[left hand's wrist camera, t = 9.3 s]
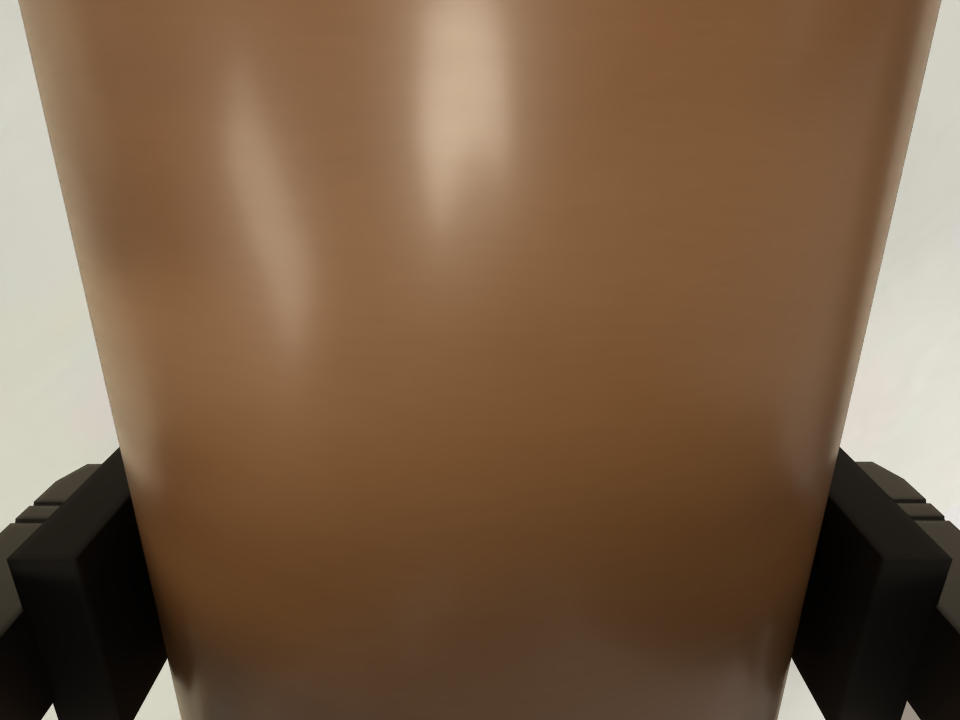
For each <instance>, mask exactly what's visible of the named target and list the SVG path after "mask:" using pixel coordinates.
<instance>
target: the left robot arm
mask: <svg viewBox="0 0 960 720" xmlns="http://www.w3.org/2000/svg"><path fill="white" fill-rule="evenodd" d="M167 658H168V657H167V653H166V648H165V644H164V640H163V635H162V631H161V626H160V622H159V618H158V613H157V609H156V604H155V600H154V596H153V591H152V587H151V582H150V578H149V574H148V569H147V565H146V560H145V556H144V552H143V547H142V543H141V538H140V534H139V530H138V525H137V521H136V516H135V512H134V508H133V503H132V499H131V494H130V490H129V486H128V481H127V477H126V472H125V468H124V464H123V459H122V455H121V450H120V447H119V448H118V449H117V450H116V451H115V452H114V453H113V454H112V455H111V456H110V457H109V458H108V459H107V460H106V461H105V462H104V463H103V464H87V465H85V466H83V467H81V468H80V469H78V470H76V471H74V472H72V473H71V474H69V475H67V476H65V477H63V478H61V479H60V480H58V481H56V482H55V483H54V484H53V485H52V486H51V487H49V488H48V489H47V490H46V491H45V492H44V493H43V494H42V495H41V496H40V497H39V498H38V499H36V500H35V501H34V506H29V507H28V508H27V509H26V510H25V511H24V512H22V513H21V514H20V515H19V516H18V517H17V518H16V521H15V523H11V524H9V525H8V526H7V527H6V528H5V529H4V530H3V531H2V532H1V533H0V720H41V719H42V718H43V716H44V715H45V713H46V712H47V711H48V709H49V708H50V706H51V705H52V703H53V705H54V708H55V711H56V714H57V717H58V720H134V718H135V716H136V715H137V713H138V711H139V709H140V707H141V705H142V704H143V702H144V700H145V698H146V696H147V694H148V693H149V691H150V689H151V687H152V685H153V684H154V682H155V680H156V678H157V676H158V674H159V673H160V671H161V669H162V667H163V665H164V663H165V662H166V660H167ZM792 659H793V661H794V663H795V665H796V667H797V668H798V670H799V672H800V674H801V676H802V677H803V679H804V681H805V683H806V685H807V687H808V688H809V690H810V692H811V694H812V696H813V698H814V699H815V701H816V703H817V705H818V707H819V708H820V710H821V712H822V714H823V716H824V718H825V719H826V720H901V717H902V714H903V711H904V708H905V705H906V702H907V701H908V702H909V704H910V705H911V707H912V708H913V709H914V711H915V712H916V714H917V715H918V717H919V718H920V719H921V720H960V530H959V529H958V528H957V527H955V526H954V525H953V524H952V523H951V522H950V521H945V519H944V516H943V515H942V514H941V513H940V512H939V511H938V510H937V509H936V508H935V507H934V506H933V505H932V504H930V503H926V499H925V498H924V497H923V496H922V495H921V494H920V493H918V492H917V491H916V490H915V489H914V488H913V487H912V486H911V485H910V484H909V483H908V482H906V481H905V480H904V479H903V478H901V477H899V476H897V475H895V474H894V473H892V472H890V471H888V470H886V469H884V468H883V467H881V466H879V465H877V464H875V463H873V462H854V461H853V460H852V459H851V458H850V457H849V456H848V455H847V454H846V453H845V452H844V451H843V450H842V449H841V448H840V447H839V451H838V455H837V460H836V464H835V468H834V473H833V477H832V482H831V486H830V490H829V495H828V499H827V503H826V508H825V512H824V517H823V521H822V525H821V530H820V534H819V538H818V543H817V547H816V552H815V556H814V560H813V565H812V569H811V574H810V578H809V582H808V587H807V591H806V595H805V600H804V604H803V609H802V613H801V617H800V622H799V626H798V630H797V635H796V639H795V644H794V648H793V652H792Z"/></svg>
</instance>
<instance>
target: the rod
mask: <svg viewBox="0 0 960 720" xmlns="http://www.w3.org/2000/svg"><path fill="white" fill-rule="evenodd" d="M18 1H19V5H20V10H21V14H22V19H23V23H24V28H25V32H26V36H27V41H28V45H29V50H30V54H31V58H32V63H33V67H34V72H35V76H36V80H37V85H38V89H39V94H40V98H41V102H42V107H43V111H44V116H45V120H46V124H47V129H48V133H49V138H50V142H51V146H52V151H53V155H54V160H55V164H56V168H57V173H58V177H59V182H60V186H61V190H62V195H63V199H64V204H65V208H66V212H67V217H68V221H69V226H70V230H71V235H72V239H73V243H74V248H75V252H76V257H77V261H78V265H79V270H80V274H81V279H82V283H83V287H84V292H85V296H86V301H87V305H88V309H89V314H90V318H91V323H92V327H93V331H94V336H95V340H96V345H97V349H98V353H99V358H100V362H101V367H102V371H103V375H104V380H105V384H106V389H107V393H108V397H109V402H110V406H111V411H112V415H113V419H114V424H115V428H116V433H117V437H118V441H119V446H120V450H121V455H122V459H123V464H124V468H125V472H126V477H127V481H128V486H129V490H130V494H131V499H132V503H133V508H134V512H135V516H136V521H137V525H138V530H139V534H140V538H141V543H142V547H143V552H144V556H145V560H146V565H147V569H148V574H149V578H150V582H151V587H152V591H153V596H154V600H155V604H156V609H157V613H158V618H159V622H160V626H161V631H162V635H163V640H164V644H165V648H166V653H167V657H168V662H169V666H170V671H171V675H172V679H173V684H174V688H175V693H176V697H177V701H178V706H179V710H180V715H181V719H182V720H777V718H778V714H779V709H780V705H781V701H782V696H783V692H784V687H785V683H786V679H787V674H788V670H789V666H790V661H791V657H792V652H793V648H794V644H795V639H796V635H797V630H798V626H799V622H800V617H801V613H802V609H803V604H804V600H805V595H806V591H807V587H808V582H809V578H810V574H811V569H812V565H813V560H814V556H815V552H816V547H817V543H818V538H819V534H820V530H821V525H822V521H823V517H824V512H825V508H826V503H827V499H828V495H829V490H830V486H831V482H832V477H833V473H834V468H835V464H836V460H837V455H838V451H839V446H840V442H841V438H842V433H843V429H844V425H845V420H846V416H847V411H848V407H849V403H850V398H851V394H852V390H853V385H854V381H855V376H856V372H857V368H858V363H859V359H860V354H861V350H862V346H863V341H864V337H865V333H866V328H867V324H868V319H869V315H870V311H871V306H872V302H873V297H874V293H875V289H876V284H877V280H878V276H879V271H880V267H881V262H882V258H883V254H884V249H885V245H886V241H887V236H888V232H889V227H890V223H891V219H892V214H893V210H894V205H895V201H896V197H897V192H898V188H899V184H900V179H901V175H902V170H903V166H904V162H905V157H906V153H907V149H908V144H909V140H910V135H911V131H912V127H913V122H914V118H915V113H916V109H917V105H918V100H919V96H920V92H921V87H922V83H923V78H924V74H925V70H926V65H927V61H928V57H929V52H930V48H931V43H932V39H933V35H934V30H935V26H936V21H937V17H938V13H939V8H940V4H941V0H18Z"/></svg>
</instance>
